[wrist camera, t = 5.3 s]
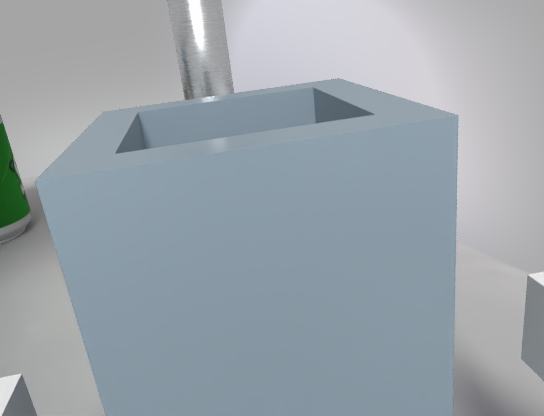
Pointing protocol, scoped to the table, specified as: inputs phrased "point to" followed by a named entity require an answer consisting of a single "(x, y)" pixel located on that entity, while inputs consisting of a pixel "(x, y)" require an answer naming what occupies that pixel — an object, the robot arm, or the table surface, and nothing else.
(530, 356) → the robot arm
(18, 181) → the soda can
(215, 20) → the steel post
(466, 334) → the table surface
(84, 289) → the sleeve
